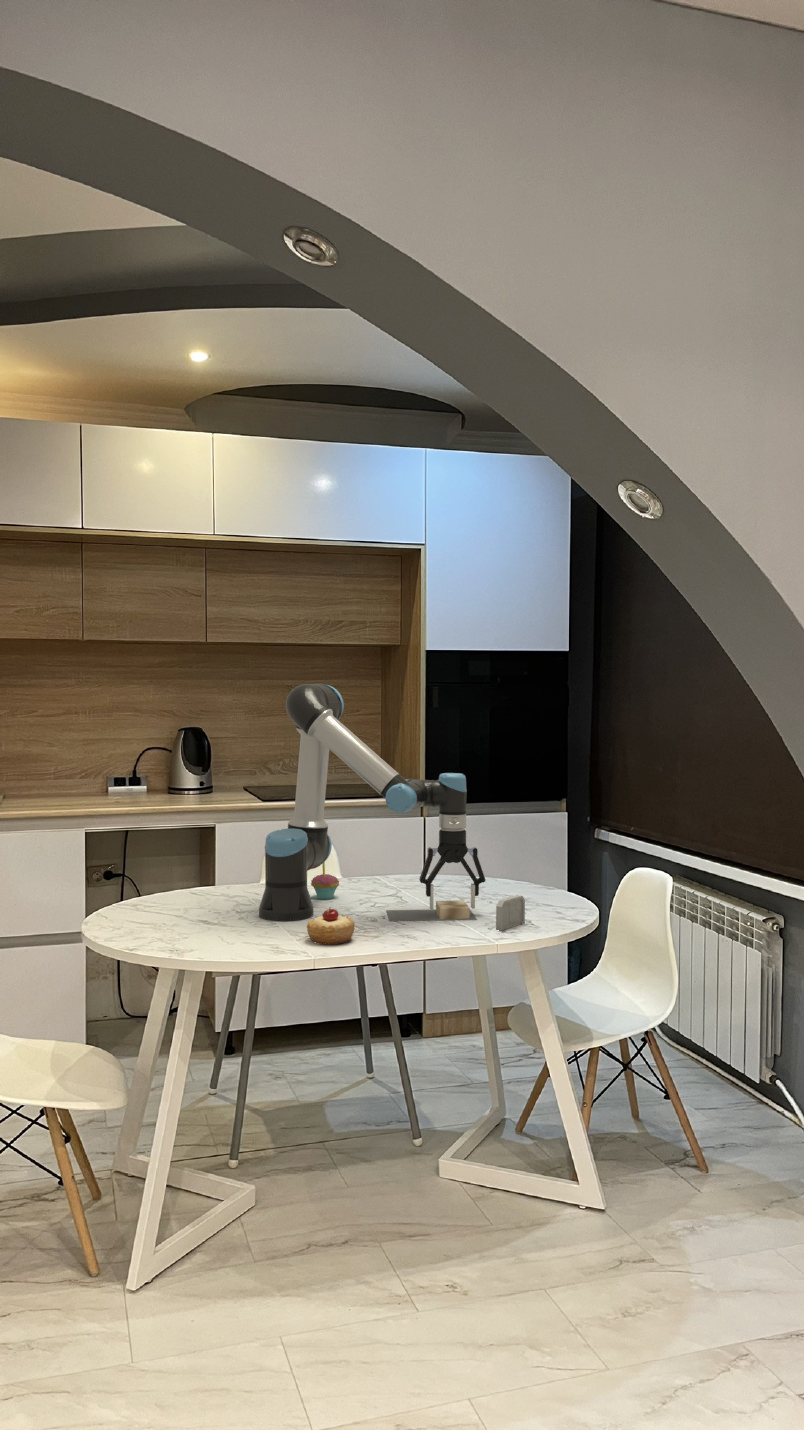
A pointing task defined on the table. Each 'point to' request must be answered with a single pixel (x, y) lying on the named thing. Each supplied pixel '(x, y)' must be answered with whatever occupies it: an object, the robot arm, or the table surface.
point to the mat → (420, 915)
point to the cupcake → (325, 885)
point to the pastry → (330, 928)
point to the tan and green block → (452, 909)
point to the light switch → (510, 912)
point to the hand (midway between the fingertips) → (452, 907)
